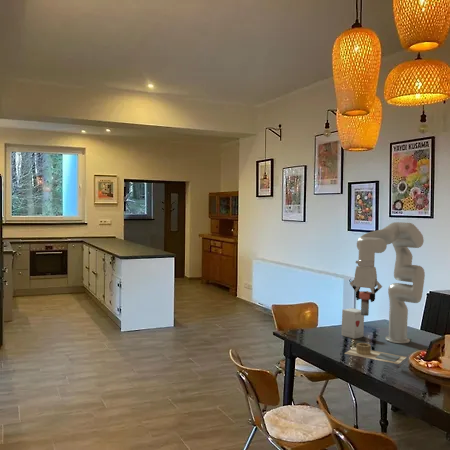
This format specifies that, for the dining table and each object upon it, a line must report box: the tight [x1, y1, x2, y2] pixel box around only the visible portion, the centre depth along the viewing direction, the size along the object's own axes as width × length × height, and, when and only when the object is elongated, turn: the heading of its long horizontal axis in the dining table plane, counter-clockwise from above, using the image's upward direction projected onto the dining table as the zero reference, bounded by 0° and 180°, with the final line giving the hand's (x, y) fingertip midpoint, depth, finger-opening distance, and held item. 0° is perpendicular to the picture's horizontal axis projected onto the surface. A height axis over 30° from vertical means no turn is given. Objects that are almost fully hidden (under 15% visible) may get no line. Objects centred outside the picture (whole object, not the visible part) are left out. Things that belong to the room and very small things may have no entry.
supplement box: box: [341, 307, 365, 340], centre depth 279 cm, size 9×9×15 cm
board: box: [344, 342, 408, 368], centre depth 238 cm, size 14×26×6 cm, turn 55°
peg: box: [358, 290, 372, 317], centre depth 241 cm, size 6×6×11 cm
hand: (365, 300), depth 241 cm, fingers closed on peg, 6 cm apart
